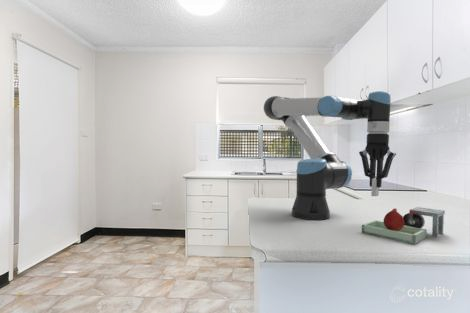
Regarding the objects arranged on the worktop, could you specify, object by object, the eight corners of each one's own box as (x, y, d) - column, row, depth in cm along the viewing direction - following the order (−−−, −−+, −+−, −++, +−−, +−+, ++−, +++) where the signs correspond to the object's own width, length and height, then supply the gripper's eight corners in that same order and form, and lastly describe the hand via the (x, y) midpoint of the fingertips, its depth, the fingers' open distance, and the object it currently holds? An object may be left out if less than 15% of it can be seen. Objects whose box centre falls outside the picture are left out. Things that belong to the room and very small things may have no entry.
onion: (386, 235, 92) (387, 209, 92) (381, 230, 98) (381, 206, 97) (406, 236, 91) (407, 210, 91) (400, 231, 96) (400, 207, 96)
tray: (361, 232, 97) (361, 224, 97) (375, 227, 104) (375, 220, 104) (414, 244, 85) (415, 235, 85) (426, 237, 92) (426, 229, 92)
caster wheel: (399, 230, 100) (399, 208, 100) (407, 226, 106) (408, 205, 106) (437, 237, 92) (437, 213, 92) (444, 233, 98) (444, 210, 97)
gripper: (356, 133, 113) (353, 194, 114) (392, 132, 103) (388, 199, 104) (365, 134, 118) (362, 192, 119) (400, 133, 108) (397, 197, 109)
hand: (374, 195), depth 112 cm, fingers closed
